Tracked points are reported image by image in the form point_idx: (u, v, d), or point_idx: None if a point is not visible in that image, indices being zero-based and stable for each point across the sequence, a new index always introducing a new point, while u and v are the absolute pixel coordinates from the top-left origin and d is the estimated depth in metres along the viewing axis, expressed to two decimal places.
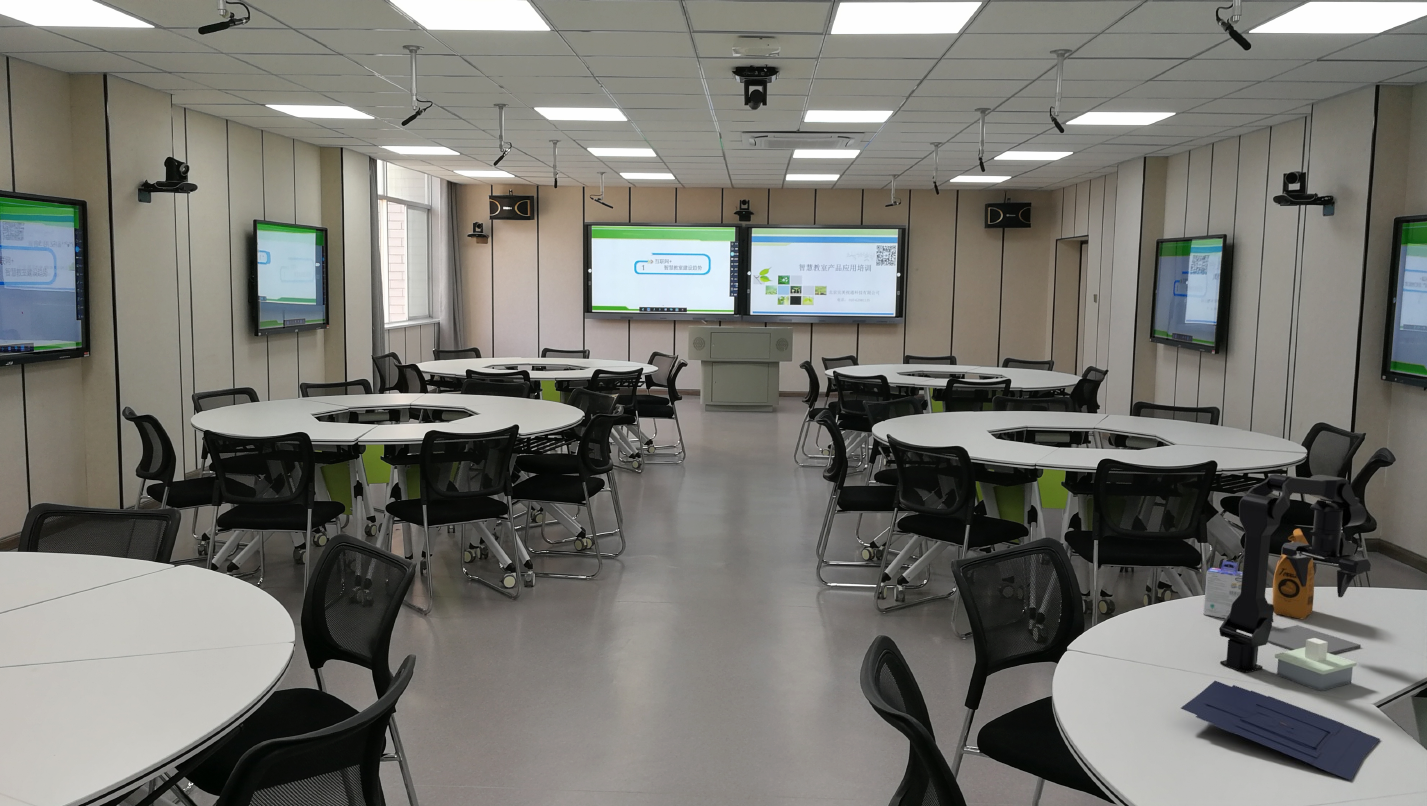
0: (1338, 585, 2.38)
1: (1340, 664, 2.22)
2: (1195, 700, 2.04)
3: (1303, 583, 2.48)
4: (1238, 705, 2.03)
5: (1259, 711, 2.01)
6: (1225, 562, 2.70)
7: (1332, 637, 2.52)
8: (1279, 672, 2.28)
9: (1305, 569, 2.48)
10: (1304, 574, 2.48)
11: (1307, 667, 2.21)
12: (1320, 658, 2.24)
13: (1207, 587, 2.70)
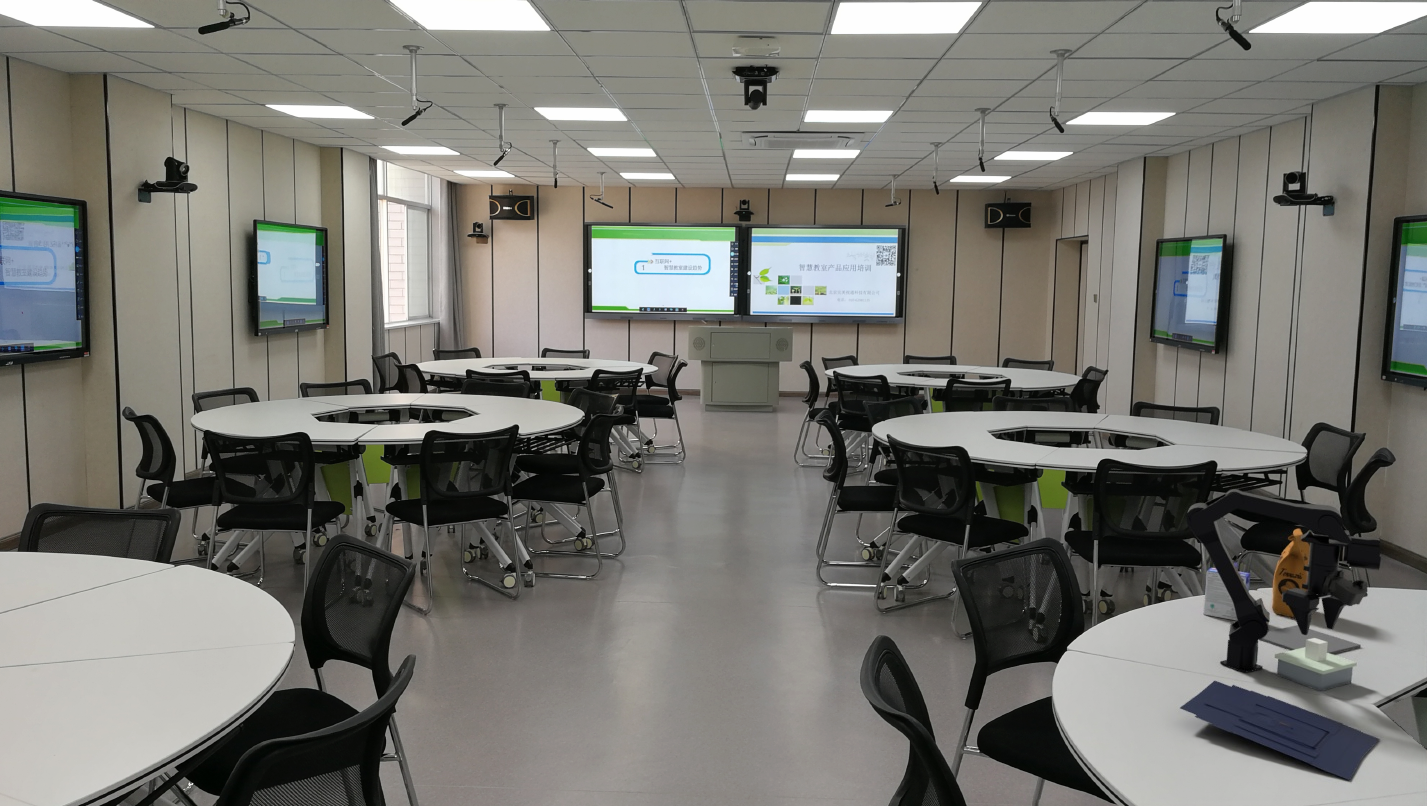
0: None
1: (1340, 664, 2.22)
2: (1194, 699, 2.04)
3: (1327, 624, 2.28)
4: (1237, 705, 2.03)
5: (1258, 711, 2.01)
6: None
7: (1332, 637, 2.52)
8: (1279, 672, 2.28)
9: (1333, 611, 2.27)
10: (1330, 615, 2.27)
11: (1307, 667, 2.21)
12: (1320, 658, 2.24)
13: (1207, 587, 2.70)
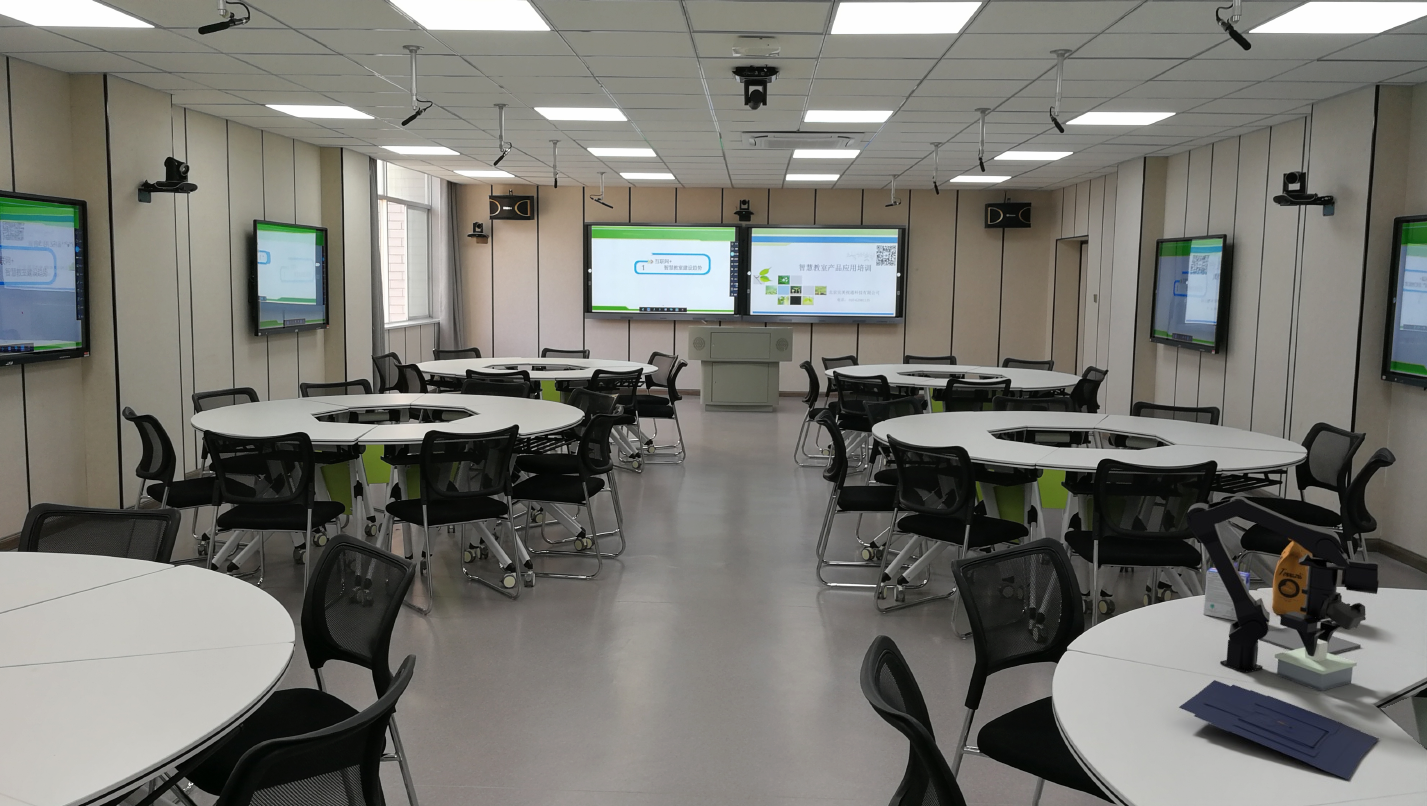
0: None
1: (1340, 664, 2.22)
2: (1193, 699, 2.05)
3: None
4: (1237, 704, 2.03)
5: (1258, 710, 2.02)
6: None
7: (1332, 637, 2.52)
8: (1279, 672, 2.28)
9: (1323, 635, 2.26)
10: None
11: (1307, 667, 2.21)
12: (1320, 658, 2.24)
13: (1207, 587, 2.70)
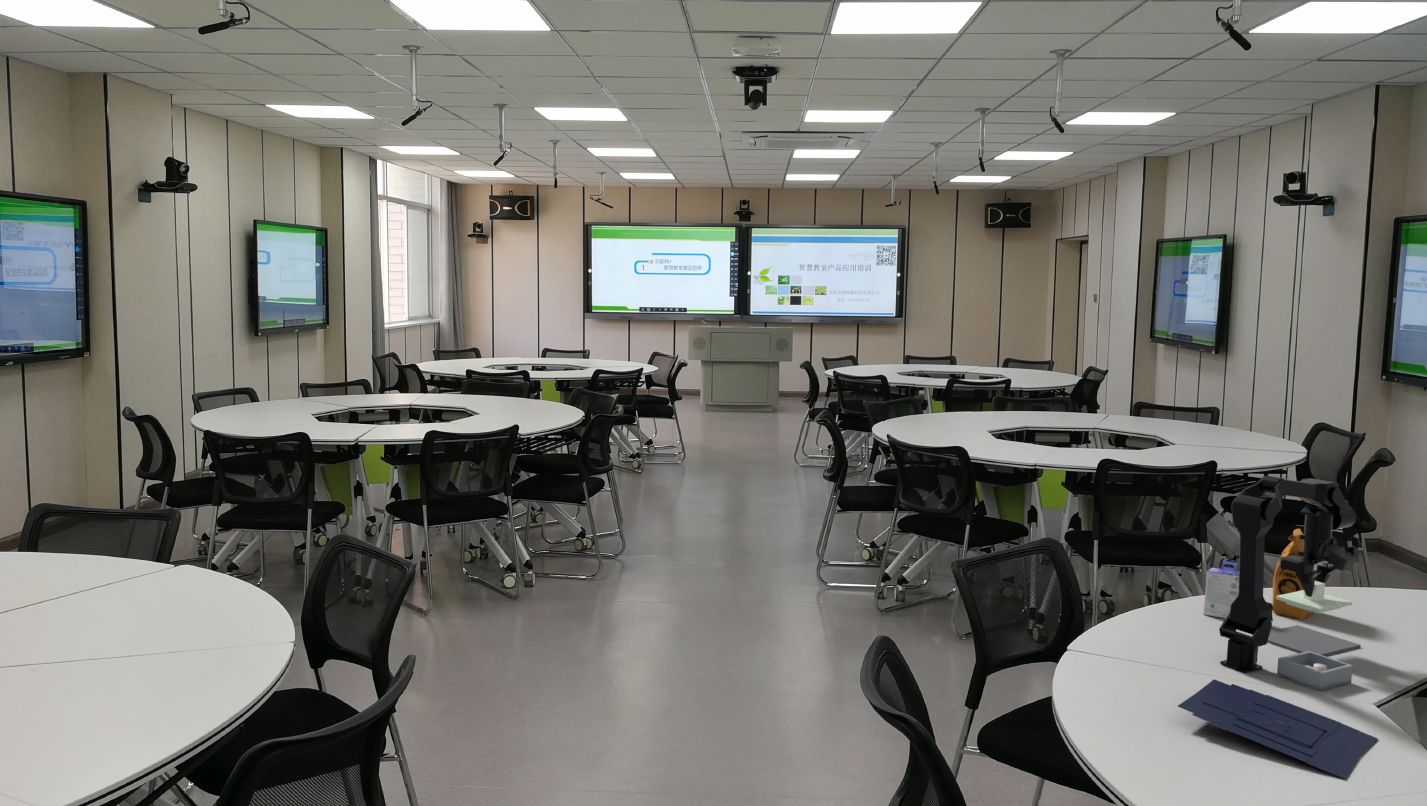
0: None
1: (1337, 603, 2.40)
2: (1192, 698, 2.05)
3: None
4: (1236, 704, 2.04)
5: (1257, 710, 2.02)
6: (1225, 562, 2.70)
7: (1332, 637, 2.52)
8: (1279, 672, 2.28)
9: (1320, 577, 2.44)
10: None
11: (1305, 606, 2.39)
12: (1318, 598, 2.42)
13: (1207, 587, 2.70)
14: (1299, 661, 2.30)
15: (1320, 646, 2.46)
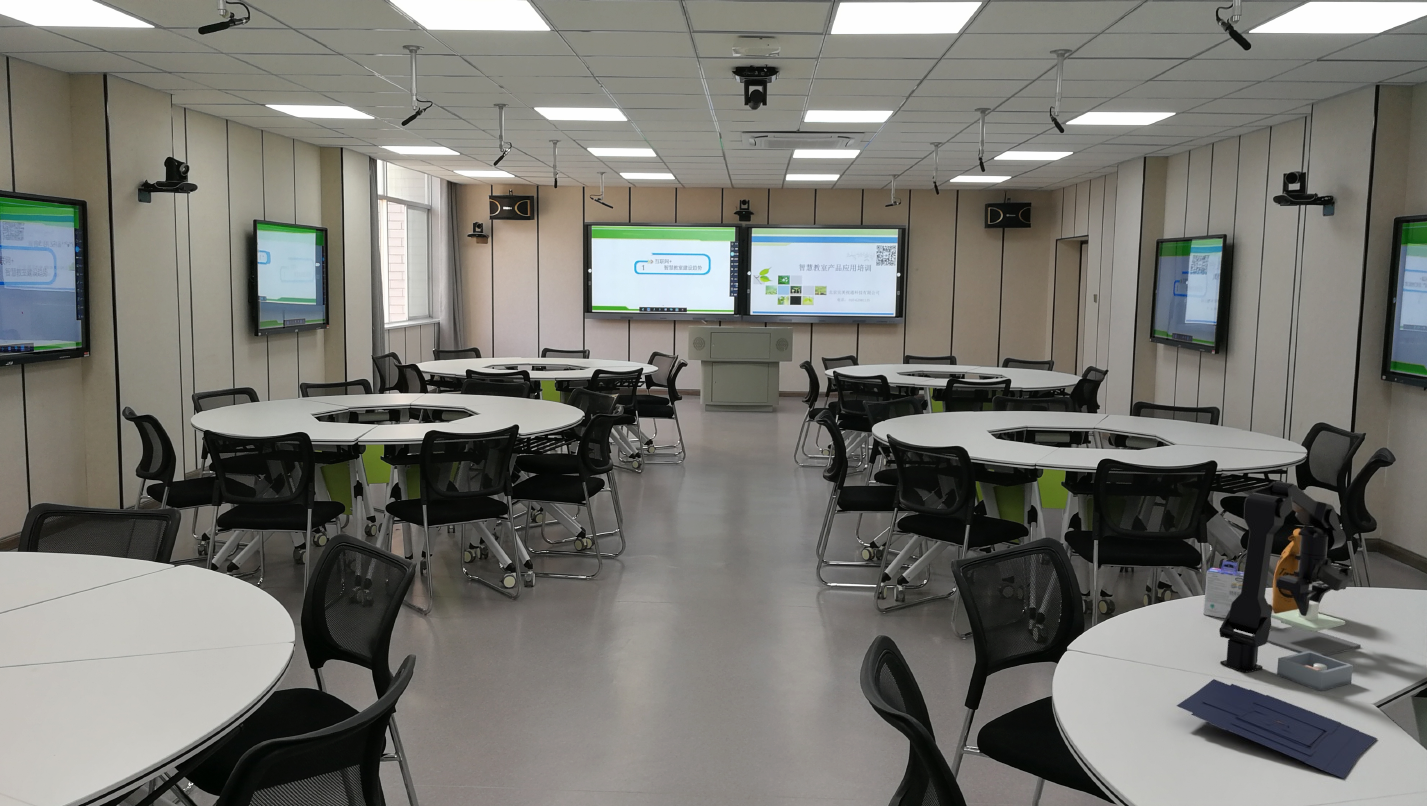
0: None
1: (1331, 622, 2.46)
2: (1191, 697, 2.05)
3: None
4: (1235, 703, 2.04)
5: (1256, 709, 2.02)
6: (1225, 562, 2.70)
7: (1332, 637, 2.52)
8: (1279, 672, 2.28)
9: (1315, 597, 2.50)
10: None
11: (1300, 625, 2.45)
12: (1312, 617, 2.48)
13: (1207, 587, 2.70)
14: (1299, 661, 2.30)
15: (1320, 646, 2.46)
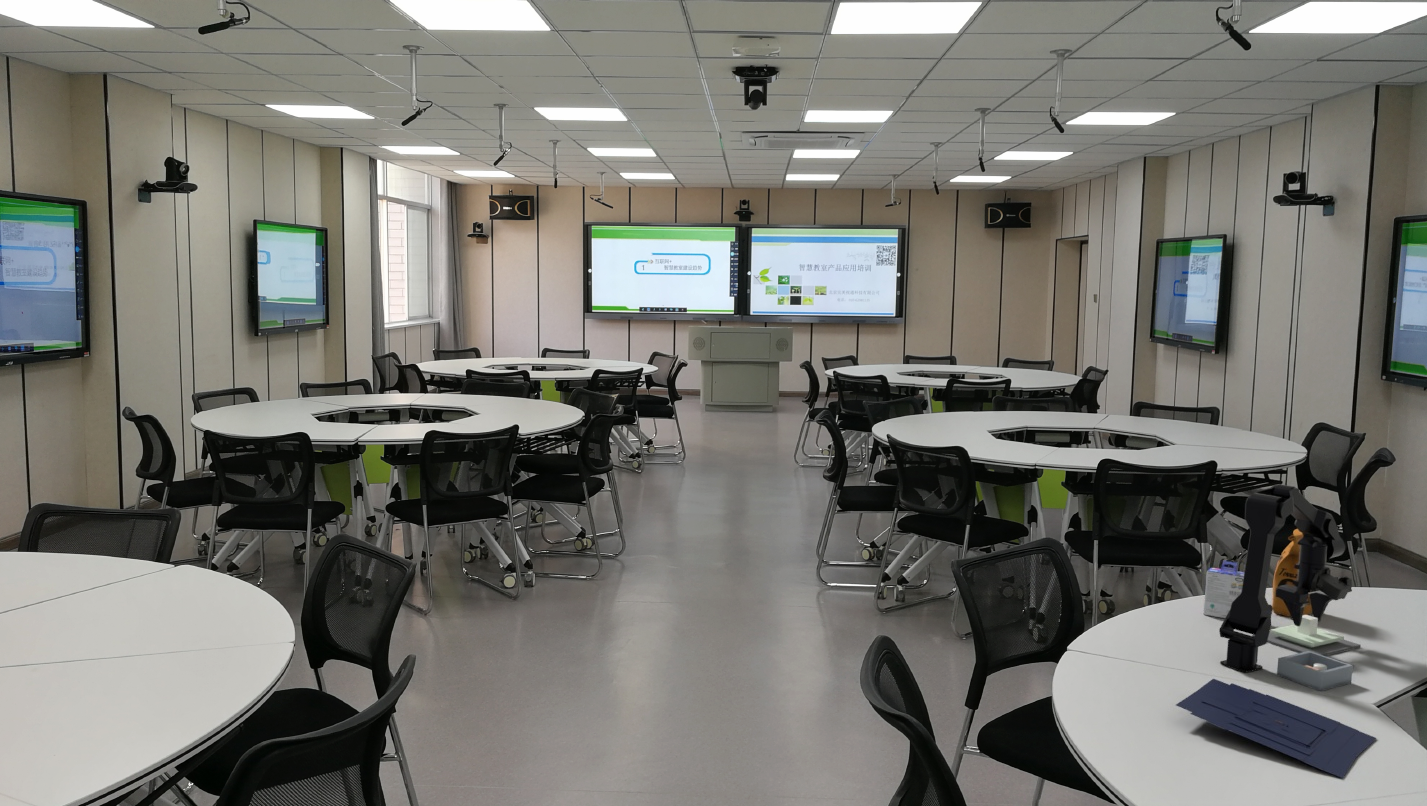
0: None
1: (1329, 638, 2.47)
2: (1191, 697, 2.05)
3: None
4: (1234, 703, 2.04)
5: (1255, 709, 2.02)
6: (1225, 562, 2.70)
7: None
8: (1279, 672, 2.28)
9: (1320, 605, 2.51)
10: (1317, 609, 2.51)
11: (1299, 640, 2.46)
12: (1311, 632, 2.48)
13: (1207, 587, 2.70)
14: (1299, 661, 2.30)
15: (1320, 646, 2.46)
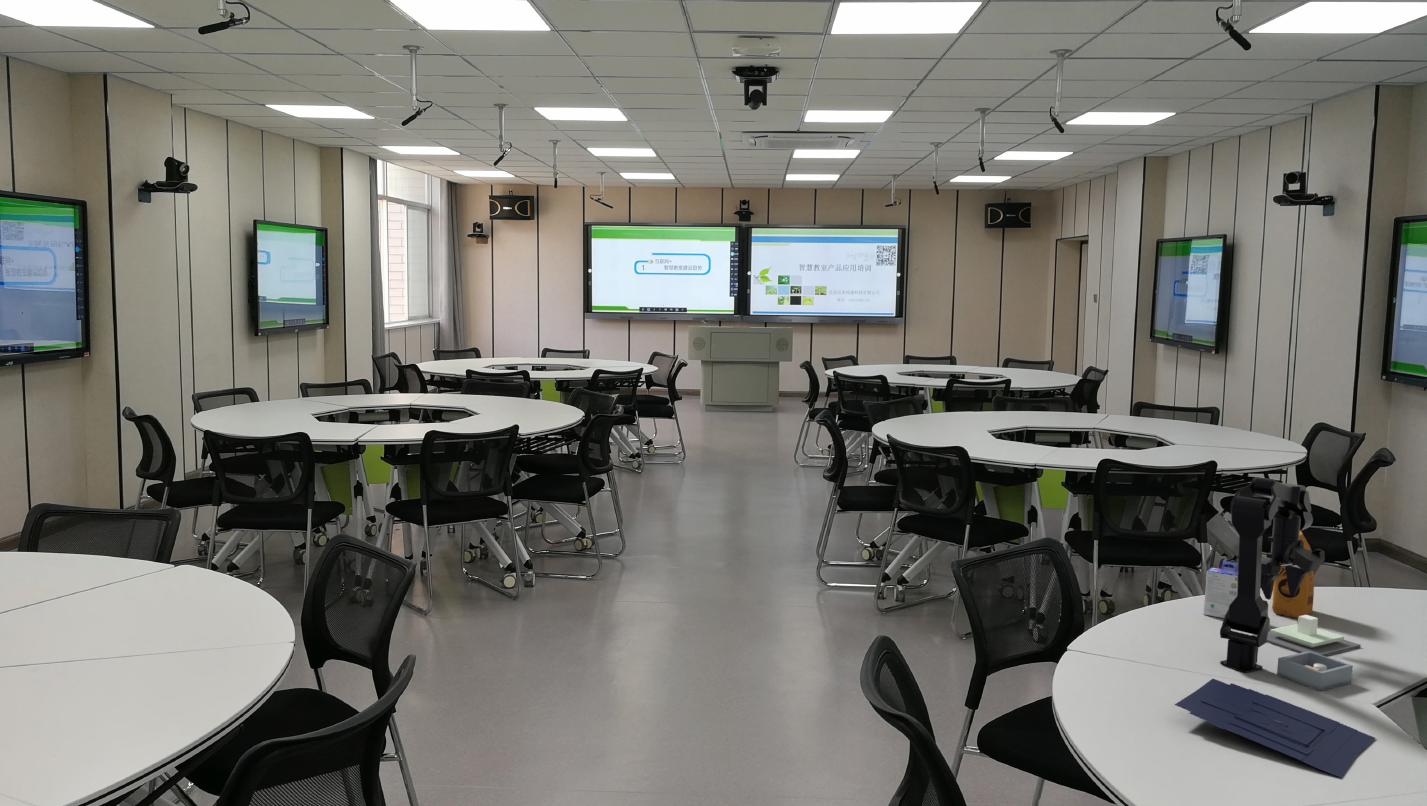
0: None
1: (1329, 638, 2.47)
2: (1190, 696, 2.06)
3: (1290, 591, 2.51)
4: (1234, 703, 2.04)
5: (1254, 709, 2.02)
6: (1225, 562, 2.70)
7: None
8: (1279, 672, 2.28)
9: (1295, 579, 2.50)
10: (1293, 583, 2.50)
11: (1299, 640, 2.46)
12: (1311, 632, 2.48)
13: (1207, 587, 2.70)
14: (1299, 661, 2.30)
15: (1320, 646, 2.46)
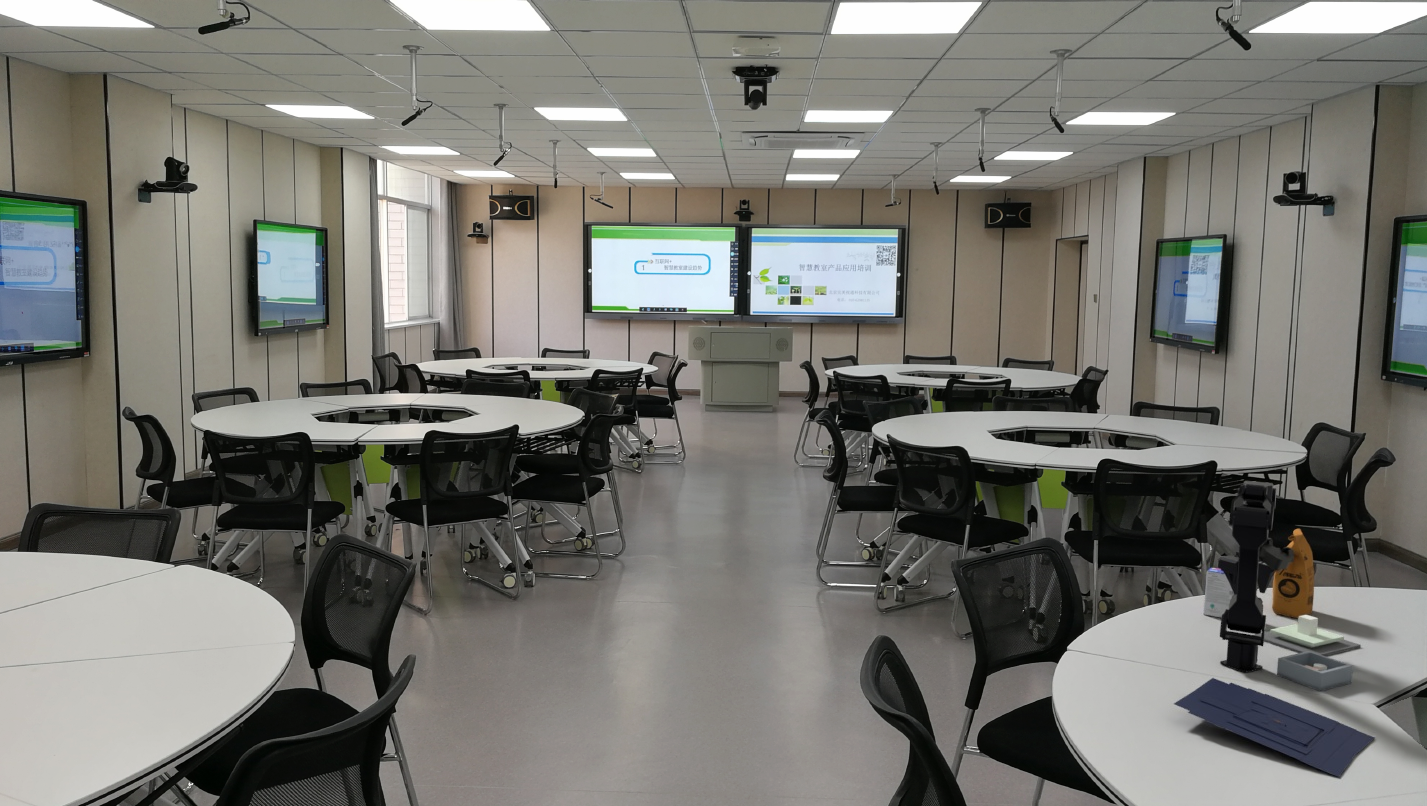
0: None
1: (1329, 638, 2.47)
2: (1189, 696, 2.06)
3: (1260, 589, 2.50)
4: (1233, 702, 2.05)
5: (1253, 708, 2.03)
6: None
7: None
8: (1279, 672, 2.28)
9: (1265, 576, 2.50)
10: (1262, 580, 2.50)
11: (1299, 640, 2.46)
12: (1311, 632, 2.48)
13: (1207, 587, 2.70)
14: (1299, 661, 2.30)
15: (1320, 646, 2.46)
